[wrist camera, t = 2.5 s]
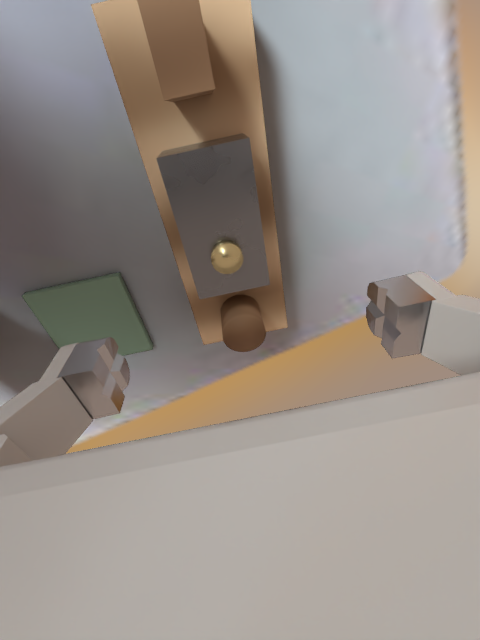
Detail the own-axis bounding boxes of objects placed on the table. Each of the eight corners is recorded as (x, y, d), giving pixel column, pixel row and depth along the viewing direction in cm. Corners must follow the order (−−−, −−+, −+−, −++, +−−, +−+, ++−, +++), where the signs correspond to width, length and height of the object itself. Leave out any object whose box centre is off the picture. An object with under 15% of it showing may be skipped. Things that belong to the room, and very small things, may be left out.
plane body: (112, 24, 17) (42, -40, 9) (237, -5, 17) (266, -94, 9) (205, 322, 29) (205, 397, 21) (278, 307, 28) (304, 377, 21)
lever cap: (162, 150, 17) (154, 160, 14) (242, 133, 17) (251, 138, 14) (199, 277, 21) (199, 304, 19) (262, 264, 21) (272, 289, 18)
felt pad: (25, 292, 25) (21, 296, 25) (119, 272, 25) (117, 275, 24) (73, 362, 30) (71, 366, 29) (153, 345, 30) (152, 349, 29)
